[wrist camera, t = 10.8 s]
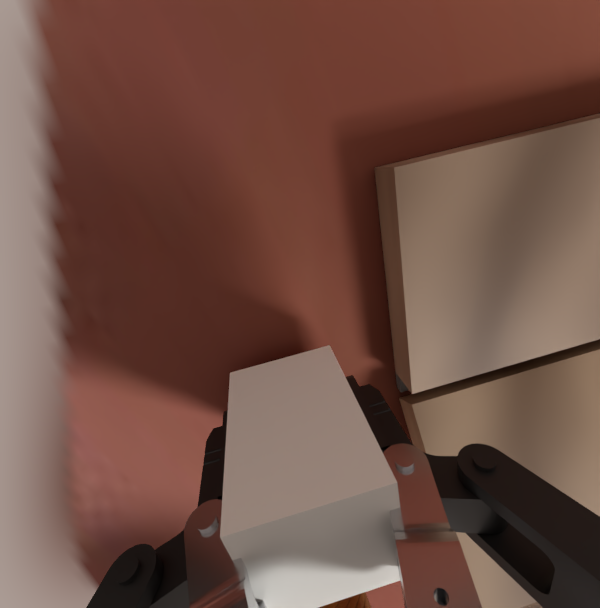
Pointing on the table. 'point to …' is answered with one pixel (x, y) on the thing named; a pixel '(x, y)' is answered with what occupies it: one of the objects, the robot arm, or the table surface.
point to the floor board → (492, 252)
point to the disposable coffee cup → (351, 602)
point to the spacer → (305, 485)
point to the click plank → (519, 436)
